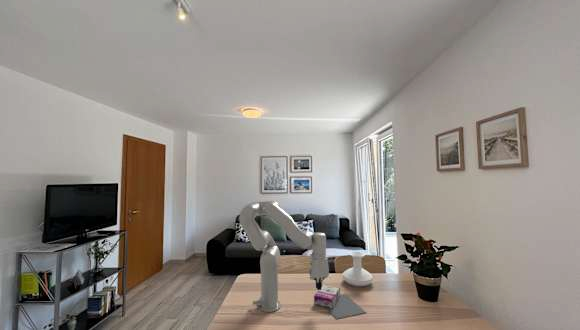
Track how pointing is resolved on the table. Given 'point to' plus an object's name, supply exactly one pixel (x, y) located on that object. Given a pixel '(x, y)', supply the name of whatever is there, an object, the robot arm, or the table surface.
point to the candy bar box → (327, 296)
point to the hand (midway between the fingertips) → (318, 288)
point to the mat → (345, 308)
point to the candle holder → (357, 272)
